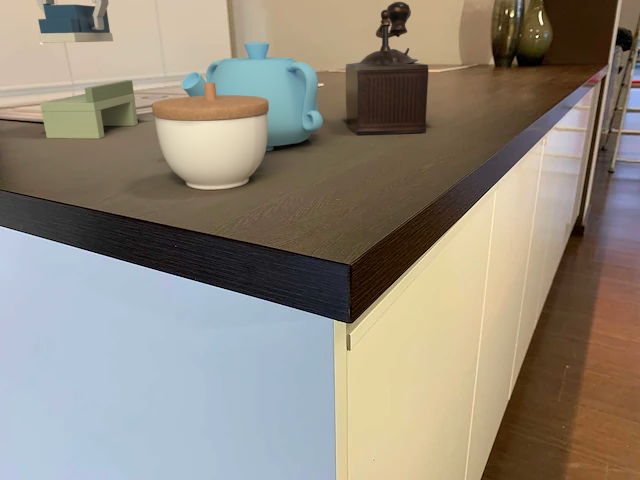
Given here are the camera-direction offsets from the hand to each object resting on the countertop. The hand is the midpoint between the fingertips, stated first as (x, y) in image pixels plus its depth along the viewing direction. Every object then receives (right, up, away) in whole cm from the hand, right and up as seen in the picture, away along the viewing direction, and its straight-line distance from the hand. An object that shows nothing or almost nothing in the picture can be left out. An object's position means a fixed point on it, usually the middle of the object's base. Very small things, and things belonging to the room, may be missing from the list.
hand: (77, 30), depth 78 cm
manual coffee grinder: (+45, -13, +6) cm, 47 cm away
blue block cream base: (0, -1, +1) cm, 2 cm away
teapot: (+26, -18, -8) cm, 33 cm away
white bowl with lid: (+25, -25, -25) cm, 43 cm away
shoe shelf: (0, -14, +5) cm, 15 cm away
